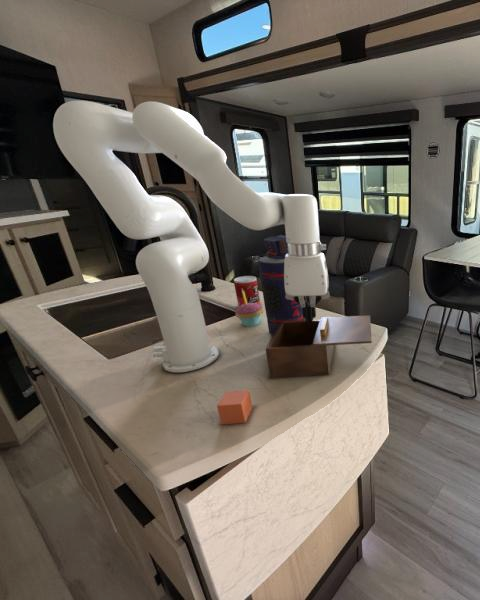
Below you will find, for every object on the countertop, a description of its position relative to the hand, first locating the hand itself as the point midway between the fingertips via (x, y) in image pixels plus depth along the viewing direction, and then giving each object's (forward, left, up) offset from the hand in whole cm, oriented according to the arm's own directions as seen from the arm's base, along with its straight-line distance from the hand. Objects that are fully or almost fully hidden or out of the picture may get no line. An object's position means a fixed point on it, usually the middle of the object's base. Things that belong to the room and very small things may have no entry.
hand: (310, 319), depth 81 cm
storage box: (-2, 0, -12) cm, 12 cm away
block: (-12, -21, -12) cm, 27 cm away
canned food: (-30, +43, -12) cm, 54 cm away
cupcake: (-24, +26, -12) cm, 37 cm away
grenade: (-9, +18, -12) cm, 23 cm away
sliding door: (+8, 0, -3) cm, 9 cm away
